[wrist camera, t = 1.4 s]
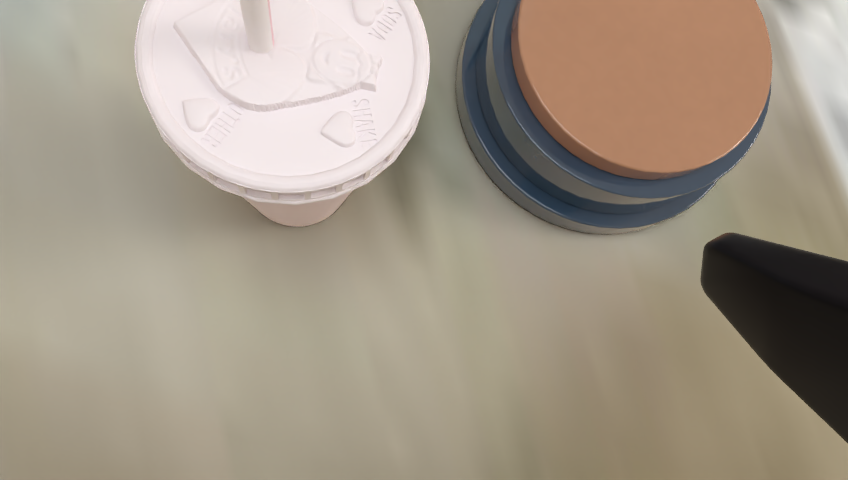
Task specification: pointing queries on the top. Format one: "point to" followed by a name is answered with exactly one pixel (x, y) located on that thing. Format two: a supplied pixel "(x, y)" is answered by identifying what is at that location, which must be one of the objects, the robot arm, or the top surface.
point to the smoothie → (284, 94)
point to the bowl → (612, 103)
